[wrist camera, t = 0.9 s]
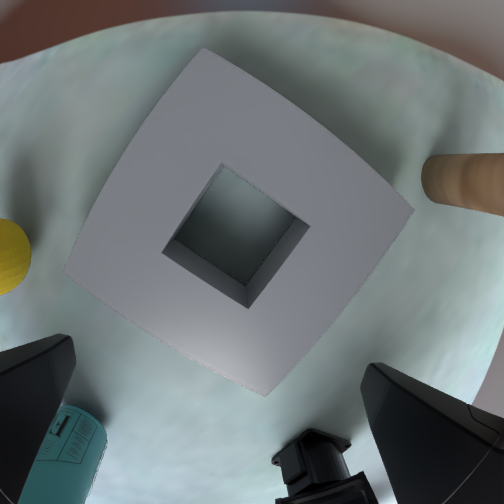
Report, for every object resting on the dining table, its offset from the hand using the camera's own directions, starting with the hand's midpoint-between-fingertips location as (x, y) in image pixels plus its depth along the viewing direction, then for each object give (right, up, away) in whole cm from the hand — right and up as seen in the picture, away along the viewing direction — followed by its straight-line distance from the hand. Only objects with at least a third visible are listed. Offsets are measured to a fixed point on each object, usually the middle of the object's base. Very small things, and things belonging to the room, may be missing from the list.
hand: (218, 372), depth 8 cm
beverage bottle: (-16, -14, +16) cm, 27 cm away
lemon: (-18, +4, +12) cm, 22 cm away
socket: (0, +5, +12) cm, 13 cm away
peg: (+16, +9, +13) cm, 23 cm away
